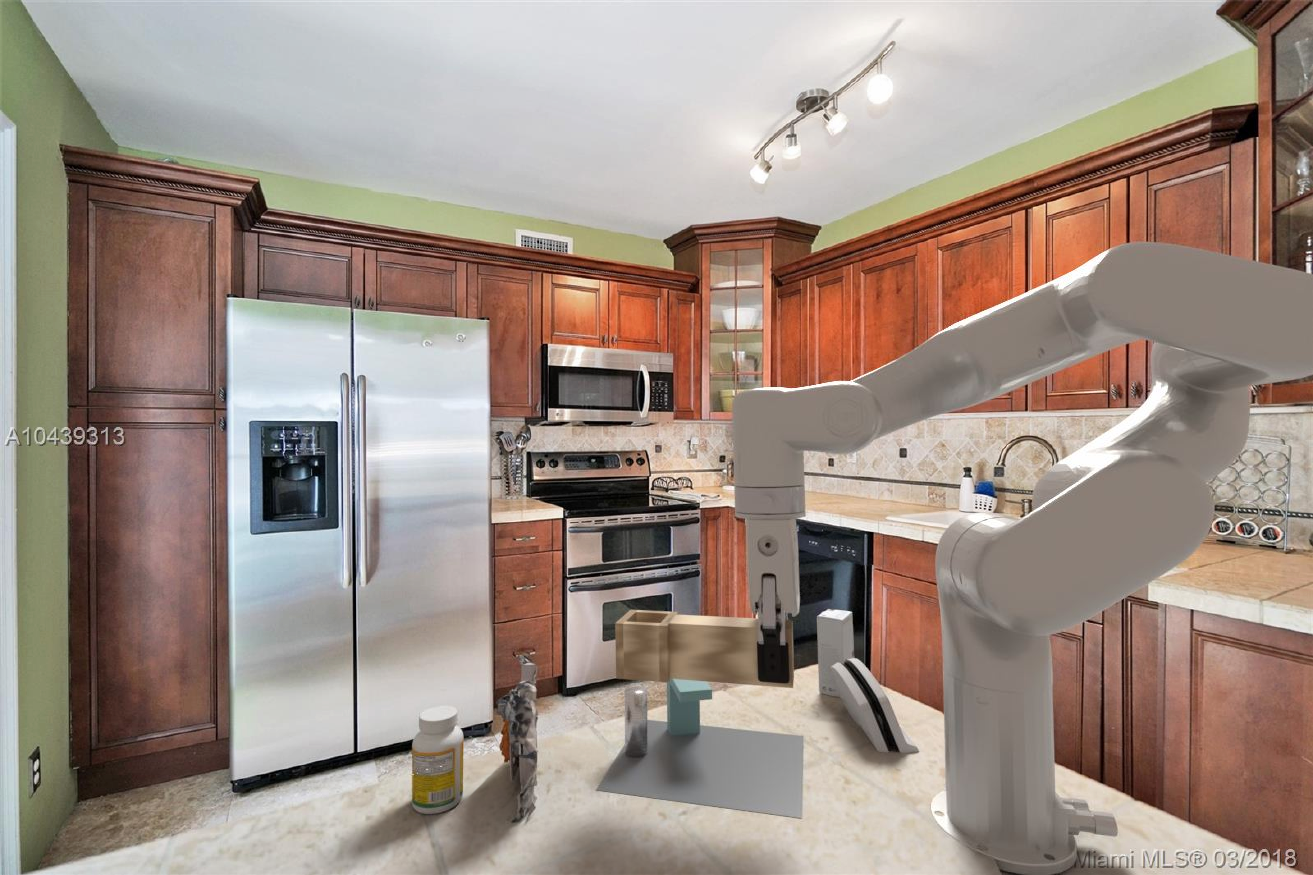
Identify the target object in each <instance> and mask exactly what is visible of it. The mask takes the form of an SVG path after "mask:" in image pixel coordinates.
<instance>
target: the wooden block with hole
mask: <svg viewBox="0 0 1313 875" xmlns="http://www.w3.org/2000/svg"><path fill="white" fill-rule="evenodd" d="M793 622H794V621H793V620H792V619H787V620H785V630H786V643H788V645H789V676H790V679H789V682H788V683H786V684H784V683H770V682H760V681H759V680H758V663H757V641H758V617H757V618H754V617H753V618H751V617H736V616H735V617H734V616H733V617H732V616H731V617H729V616H715V615H714V616H713V615H712V616H711V615H696V614H695V615H693V614H691V615H689V614H679V612H678V611H664V610H645V609H644V610H641V609H629V611H627V612H626V613H625V614H624V615H623V616H622V617H620V618H619V620H617V621H616V622H615V623H614V624H615V625H614V626H615V636H614V637H615V678H616V679H618V680H621V679H622V680H631V681H632V680H633V681H644V682H659V683H667V682H668V681H669V679H680V680H693V681H706V682H707V683H723V684H733V685H734V684H736V685H745V686H746V685H748V686H749V685H750V686H761V687H762V686H763V687H773V688H774V687H775V688H787V689H794V684H795V683H794V681H795V680H794V679H795V664H794V661H795V660H794V627H793V626H794V625H793V624H794V623H793ZM776 623H779V625H780V620H776Z"/></svg>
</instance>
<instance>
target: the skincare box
mask: <svg viewBox="0 0 1313 875" xmlns="http://www.w3.org/2000/svg"><path fill="white" fill-rule="evenodd" d="M853 622H854V621H853V612H852V611H849V610H841V609H832V608H828V609H826V610H825V611H821V613H820V614H819V615H817V616H816V626H817V627H816V630H817V631H816V632H817V633H816V635H817V639H816V640H817V661H818V662H817V664H818V665H817V666H818V669H817V670H818V671H817V672H818V692H819V693H820V694H824V695H826V696H830V697H836V698H840V699H842V698H841V695H840V692H839V690H838V687H837V684H836V681H835V678H834V676H833V673H832V670H831V666H833V665H834V664H836V663H838V662H839V663H843V664H844V662H846V659H852V658H855V647H854V646H855V642H854V641H855V640H854V624H853Z"/></svg>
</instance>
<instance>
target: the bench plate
mask: <svg viewBox="0 0 1313 875" xmlns="http://www.w3.org/2000/svg"><path fill="white" fill-rule="evenodd" d="M647 728H648V753H647V755H645V756H643V757H640V758H632V757H628V756H627V755H626V754H625V744H623V746H622V748H621V749H620V751H619V753H618V754H617V756H616V758H615V759H614V761H613V762H612V763H611V765H610V766H609V768H608V770H607V772H606V773H605V775H604V777H603V778H602V780H601V781H600V783H599V784H598V785H597V788H596V789H595V791H597V792H603V793H604V792H605V793H613V794H617V795H619V794H621V795H627V796H634V797H642V798H648V799H656V800H664V801H670V802H671V801H672V802H677V803H678V802H679V803H686V804H690V805H691V804H692V805H698V806H699V805H700V806H708V807H713V808H722V809H728V810H729V809H730V810H735V811H742V812H743V811H744V812H750V813H758V814H766V815H771V816H772V815H774V816H779V817H788V818H793V819H803V792H804V791H803V789H804V788H803V787H804V786H803V785H804V784H803V782H804V780H803V779H804V742H805V741H804V740H805V738H804V735H799V734H787V733H778V732H769V731H759V730H750V729H739V728H729V727H720V726H711V725H710V726H709V725H701V724H700V733H694V734H684V735H674V736H670V734H669V732H668V729H667V721H661V720H655V719H654V720H653V719H647Z"/></svg>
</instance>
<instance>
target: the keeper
mask: <svg viewBox="0 0 1313 875" xmlns="http://www.w3.org/2000/svg"><path fill="white" fill-rule="evenodd" d="M708 700H710V701H711V700H713V689H712V687H711V685H710V684H709V682H706V681H693V680H680V679H669V681H668V682H666V714H667V715H666V722H667V729H668V732H669V734H670V736H674V735H684V734H694V733H700V725H701V709H700V708H701V704H700V702H701V701H708Z"/></svg>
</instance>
